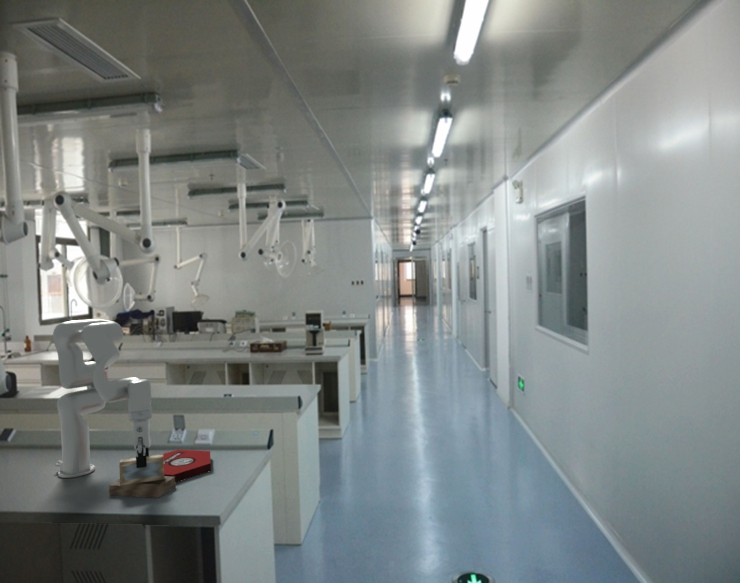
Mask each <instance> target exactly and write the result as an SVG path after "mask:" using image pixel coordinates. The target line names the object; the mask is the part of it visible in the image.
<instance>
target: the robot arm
mask: <svg viewBox="0 0 740 583" xmlns="http://www.w3.org/2000/svg"><path fill="white" fill-rule="evenodd" d="M123 337H124V330H123V328H122V326H121V325H120V323H118V322H116V321H113V320H107V319H101V318H92V319H90V318H89V319H78V320H75V319H74V320H69V321H64V322H61V323H59V324H57V325H56V326H55V328H54V329H53V332H52V339H53V344H54V348H55V350H56V352H57V357H58V358H57V359H58V360H57V361H58V373H59V383H60V385H61V387H62V388H63V389H65V390H72V389H79V388H83V387H87V389H81V390H76V391H71V392H68V393H65V394H63V395H61V396H60V397H59V398H58V400H57V401H56V409H57V413H58V417H59V423H60V438H61V442H60V443H61V460H60V459H59V460H57V461H56V463H55V464H54V467H55V468H59V470H58V472H57V475H58V477H59V478H63V479H69V478H70V479H71V478H77V477H82V476H85V475H89V474H91V473H92V472H93V471H95V469H96V466H95V465H94V464H92V463H91V451H90V449H91V448H90V446H91V444H90V428H89V426H90V425H89V423H88V421H87V420H86V418H85V419H84V417H83V415H87V414H90V413H91V414H92V413H95V412H98V411H101V410H103V409H104V408H105V407H106V404H107V403H111V404H112V403H115V402H119V401H124V400H127V405H128V410H127V411H128V421H129V422H132V433H133V434H132V436H133V446H134V450H135V451H136V452H135V454H136V456H135V458H136V467H137V468H143V467H146V466H147V461H146V457H147V456H150V451H149V449H150V447H151V445H152V430H151V422H150V420H151V419H152V418H153V407H152V405H153V404H152V387H151V386H152V385H151V381H150V380H149V379H148V378H139V377H137V376H130V377H125V378H118V379H113V380H110V379H109V378H108V376H107V374H106V371H105V370H106V369H107V368H109V367H111V365H113V364H115V363H116V362H117V361H118V359H119V358H120V355H121V353H120V350H119V349H118V347H117V346H116V343H120V342H121V341H122V340H123V339H124V338H123ZM81 342H82V343H83V342H84V344H85V345H86V347H87V350H88V352H89V353H90V355H91V356H92V358H93V361H91V360H90V361H86V362H85V361H84V352H83V349H82V348H81V347H80V346H79V344H77V343H81Z"/></svg>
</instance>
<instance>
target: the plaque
mask: <svg viewBox="0 0 740 583" xmlns="http://www.w3.org/2000/svg"><path fill="white" fill-rule="evenodd" d="M159 455H163V460H164V476H170V477H175V482H176V483H179V482H181V480H182V481H185V480H188V479H191V478H193V477H197V475H198V476H201V475H204V474H206V472H207V473H209V472H208V471H210V472H211V471H212V463H211V462H212V461H211V451H210V450H197V449H196V450H193V449H192V450H191V449H175V450H172V451H168V452H164V453H161V454H159ZM203 473H204V474H203ZM200 474H201V475H200ZM184 479H185V480H184ZM178 481H179V482H178Z"/></svg>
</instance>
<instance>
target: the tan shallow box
mask: <svg viewBox="0 0 740 583" xmlns="http://www.w3.org/2000/svg"><path fill="white" fill-rule="evenodd" d="M173 487H174V488H175V487H176V483H175V477H170V476H164V479H163V480H156V481H148V482H141V483H134V484H127V485H120V478H118V479H117V480H115V481H114V482H112V483H111V484H109V485H108V488H109V490H108V491H109V492H108V493H109V496H117V495H122V496H121V497H134V496H142V497H141V498H150V497H153V499H154V497H155V499H156V498H157V499H160V498H161V497H163V496H164V495H166V494H167V493H168V492H170V491H171V490H172V489H174V488H173ZM170 489H171V490H170ZM166 492H167V493H166ZM163 494H164V495H163ZM159 497H160V498H159Z"/></svg>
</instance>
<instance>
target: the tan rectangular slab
mask: <svg viewBox="0 0 740 583" xmlns="http://www.w3.org/2000/svg"><path fill="white" fill-rule="evenodd" d="M146 461H147V466H146V467H143V468H137V467H136V457H132V458H131V457H130V458H123V459H120V460H119V479H120V485H127V484H134V483H141V482H148V481H156V480H163V479H164V460H163V455H160V454H155V455H149V456H147V457H146Z"/></svg>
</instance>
